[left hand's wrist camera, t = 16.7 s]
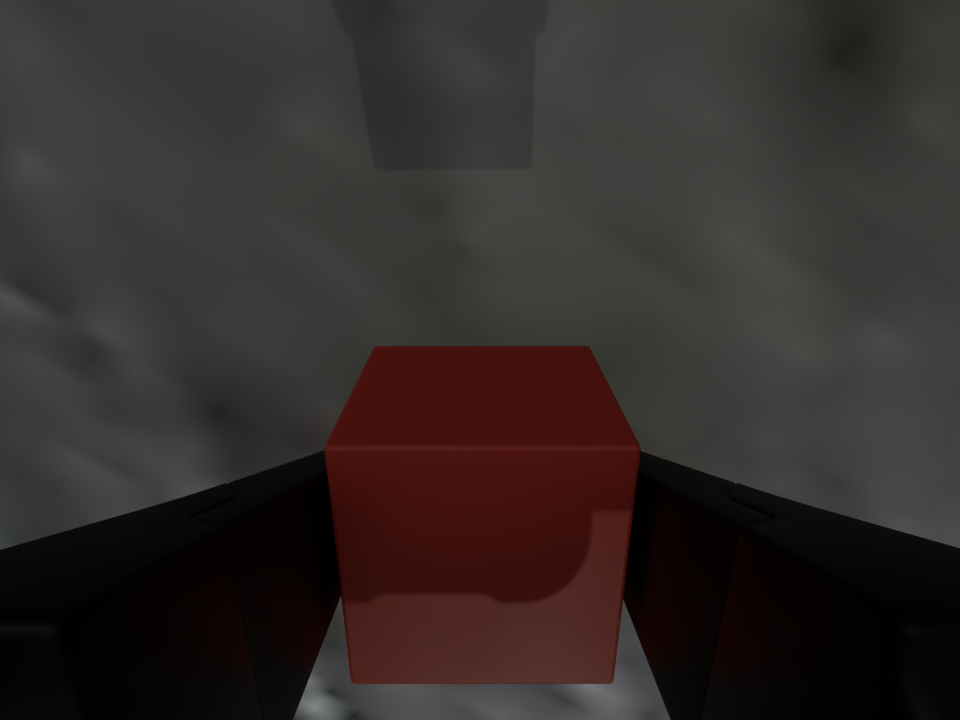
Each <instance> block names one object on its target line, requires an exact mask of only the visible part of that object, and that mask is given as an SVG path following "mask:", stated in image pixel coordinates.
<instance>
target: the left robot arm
mask: <svg viewBox="0 0 960 720" xmlns="http://www.w3.org/2000/svg"><path fill="white" fill-rule="evenodd" d="M340 597H341V589H340V580H339V572H338V563H337V554H336V546H335V537H334V528H333V520H332V511H331V502H330V494H329V485H328V476H327V467H326V459H325V450H324V451H321V452H318V453H315V454H313V455H310V456H307V457H304V458H301V459H298V460H295V461H292V462H289V463H286V464H283V465H280V466H277V467H274V468H271V469H268V470H265V471H262V472H259V473H257V474H254V475H251V476H248V477H245V478H242V479H239V480H236V481H233V482H230V483H228V484H226V483H225V484H222V485H219V486H216V487H213V488H210V489H207V490H204V491H201V492H198V493H194V494H191V495H188V496H185V497H182V498H178V499H175V500H172V501H168V502H165V503H162V504H158V505H155V506H152V507H148V508H145V509H141V510H138V511H134V512H131V513H127V514H124V515H120V516H117V517H113V518H110V519H106V520H103V521H99V522H96V523H92V524H89V525H85V526H82V527H78V528H75V529H71V530H68V531H65V532H61V533H58V534H54V535H51V536H47V537H44V538H40V539H37V540H33V541H30V542H26V543H23V544H19V545H16V546H12V547H9V548H5V549H2V550H0V720H293V718H294V716H295V713H296V710H297V708H298V705H299V703H300V700H301V698H302V695H303V692H304V690H305V687H306V685H307V682H308V679H309V677H310V674H311V672H312V669H313V667H314V664H315V661H316V659H317V656H318V654H319V651H320V648H321V646H322V643H323V641H324V638H325V636H326V633H327V630H328V628H329V625H330V623H331V620H332V617H333V615H334V612H335V610H336V607H337V605H338V602H339V599H340ZM623 599H624V602H625V605H626V607H627V610H628V612H629V615H630V617H631V620H632V622H633V625H634V628H635V630H636V633H637V635H638V638H639V640H640V643H641V645H642V648H643V650H644V653H645V656H646V658H647V661H648V663H649V666H650V668H651V671H652V673H653V676H654V679H655V681H656V684H657V686H658V689H659V691H660V694H661V696H662V699H663V701H664V704H665V707H666V709H667V712H668V714H669V717H670V719H671V720H960V548H957V547H953V546H949V545H946V544H942V543H939V542H935V541H932V540H928V539H925V538H921V537H918V536H914V535H911V534H907V533H904V532H900V531H897V530H893V529H890V528H886V527H883V526H879V525H876V524H872V523H869V522H865V521H862V520H858V519H855V518H851V517H848V516H844V515H841V514H837V513H834V512H830V511H827V510H823V509H820V508H816V507H812V506H809V505H806V504H802V503H799V502H796V501H792V500H789V499H786V498H782V497H779V496H776V495H773V494H769V493H766V492H763V491H760V490H757V489H754V488H751V487H748V486H745V485H742V484H739V483H737V484H735V483H734V482H731V481H728V480H725V479H722V478H719V477H716V476H713V475H710V474H707V473H704V472H701V471H698V470H695V469H692V468H689V467H686V466H683V465H680V464H677V463H674V462H671V461H668V460H665V459H662V458H659V457H656V456H653V455H650V454H647V453H644V452H641V451H640V459H639V468H638V476H637V485H636V493H635V502H634V510H633V519H632V527H631V535H630V544H629V552H628V561H627V569H626V578H625V586H624V595H623Z"/></svg>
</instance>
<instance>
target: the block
mask: <svg viewBox="0 0 960 720" xmlns="http://www.w3.org/2000/svg"><path fill="white" fill-rule="evenodd" d="M324 450H325V459H326V467H327V476H328V485H329V494H330V502H331V511H332V520H333V528H334V537H335V546H336V554H337V563H338V572H339V580H340V589H341V598H342V606H343V615H344V624H345V633H346V641H347V650H348V659H349V667H350V676H351V681H352V683H355V684H610V683H612V682H613V679H614V671H615V663H616V654H617V646H618V637H619V629H620V620H621V612H622V603H623V595H624V586H625V578H626V569H627V561H628V552H629V544H630V535H631V527H632V519H633V510H634V502H635V493H636V485H637V476H638V468H639V459H640V451H641V448H640V445H639V443H638V441H637V439H636V437H635V435H634V433H633V432H632V430H631V428H630V426H629V424H628V422H627V420H626V418H625V416H624V414H623V412H622V410H621V408H620V406H619V404H618V402H617V400H616V398H615V396H614V394H613V392H612V391H611V389H610V387H609V385H608V383H607V381H606V379H605V377H604V375H603V373H602V371H601V369H600V367H599V365H598V363H597V361H596V359H595V357H594V355H593V353H592V351H591V349H590V348H589V347H587V346H377V347H374V349H373V351H372V353H371V355H370V357H369V359H368V361H367V363H366V365H365V367H364V369H363V371H362V373H361V375H360V377H359V379H358V381H357V383H356V385H355V387H354V389H353V391H352V393H351V395H350V397H349V399H348V401H347V403H346V405H345V407H344V409H343V411H342V413H341V415H340V417H339V419H338V421H337V423H336V425H335V427H334V429H333V431H332V433H331V435H330V437H329V439H328V441H327V443H326V446H325V448H324Z"/></svg>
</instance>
